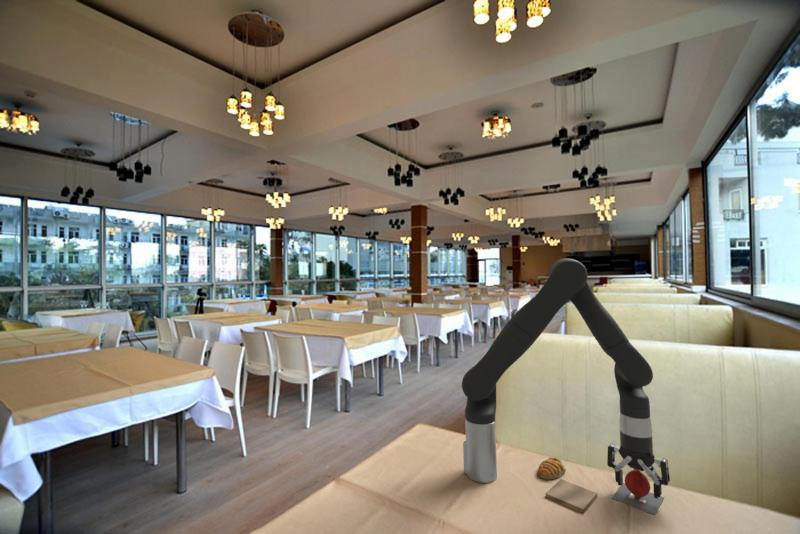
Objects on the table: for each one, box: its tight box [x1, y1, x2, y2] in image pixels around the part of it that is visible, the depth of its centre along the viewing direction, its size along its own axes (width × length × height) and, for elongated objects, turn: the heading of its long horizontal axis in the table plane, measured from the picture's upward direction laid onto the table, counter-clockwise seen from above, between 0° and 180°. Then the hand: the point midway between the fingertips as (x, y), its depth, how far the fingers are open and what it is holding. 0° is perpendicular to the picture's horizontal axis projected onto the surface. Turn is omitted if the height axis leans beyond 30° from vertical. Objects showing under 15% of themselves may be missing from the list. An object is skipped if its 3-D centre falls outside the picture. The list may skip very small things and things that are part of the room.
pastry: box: [537, 456, 567, 481], centre depth 113 cm, size 9×7×4 cm
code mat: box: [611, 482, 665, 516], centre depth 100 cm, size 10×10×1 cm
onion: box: [624, 468, 651, 498], centre depth 100 cm, size 6×6×8 cm
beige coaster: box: [545, 479, 598, 514], centre depth 101 cm, size 10×10×1 cm
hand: (638, 490), depth 100 cm, fingers open, 8 cm apart
